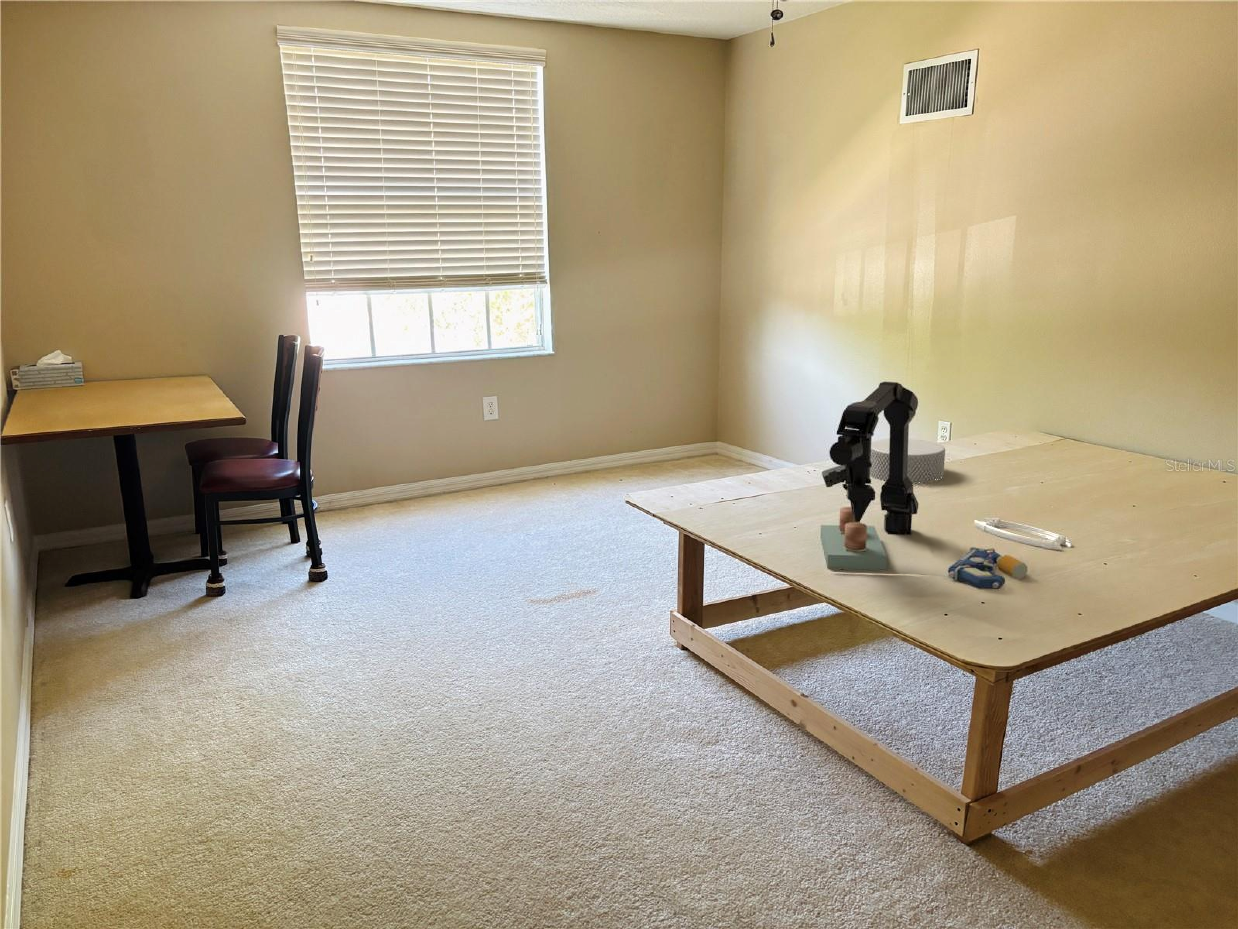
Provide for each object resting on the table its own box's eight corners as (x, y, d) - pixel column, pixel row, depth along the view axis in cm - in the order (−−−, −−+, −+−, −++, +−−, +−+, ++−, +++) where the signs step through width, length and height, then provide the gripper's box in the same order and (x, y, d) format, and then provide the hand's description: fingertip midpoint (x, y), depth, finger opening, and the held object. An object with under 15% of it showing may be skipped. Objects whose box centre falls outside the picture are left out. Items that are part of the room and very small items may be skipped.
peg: (864, 558, 212) (865, 522, 209) (866, 565, 206) (868, 529, 204) (842, 557, 212) (843, 522, 210) (844, 565, 207) (846, 528, 205)
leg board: (873, 540, 226) (874, 526, 225) (886, 571, 204) (886, 556, 203) (820, 538, 228) (820, 525, 227) (827, 570, 206) (827, 554, 205)
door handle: (988, 523, 238) (1076, 546, 217) (967, 530, 232) (1055, 554, 212) (989, 514, 237) (1077, 536, 217) (968, 521, 232) (1056, 544, 211)
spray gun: (1035, 569, 202) (972, 557, 212) (1037, 553, 201) (973, 541, 211) (1007, 599, 188) (940, 584, 198) (1008, 581, 187) (941, 567, 196)
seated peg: (858, 540, 224) (859, 507, 222) (860, 547, 219) (861, 513, 217) (837, 540, 225) (838, 506, 222) (839, 547, 220) (840, 512, 217)
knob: (882, 462, 306) (856, 477, 287) (883, 435, 304) (857, 449, 285) (952, 471, 292) (930, 488, 272) (954, 442, 289) (931, 457, 270)
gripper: (821, 447, 213) (819, 506, 217) (827, 466, 195) (825, 529, 199) (866, 448, 211) (864, 507, 215) (876, 466, 193) (873, 530, 197)
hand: (856, 518), depth 207 cm, fingers open, 6 cm apart
